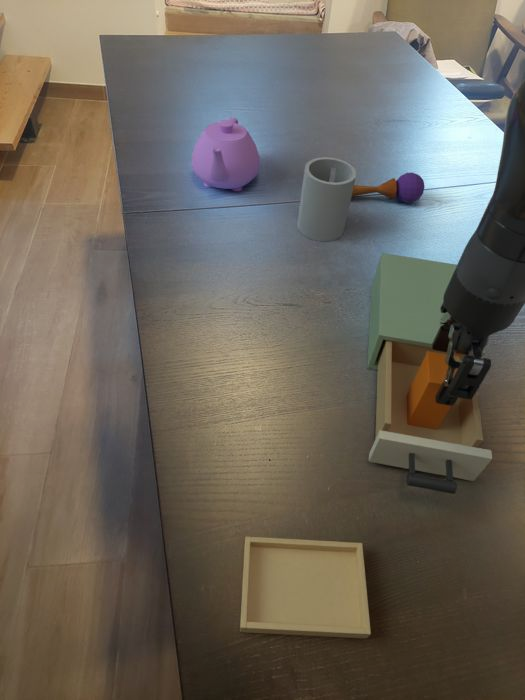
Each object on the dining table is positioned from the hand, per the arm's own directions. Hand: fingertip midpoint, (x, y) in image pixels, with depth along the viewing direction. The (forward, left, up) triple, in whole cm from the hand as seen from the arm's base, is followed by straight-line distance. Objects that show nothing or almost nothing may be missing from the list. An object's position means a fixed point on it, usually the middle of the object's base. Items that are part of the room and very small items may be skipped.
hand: (441, 374), depth 63 cm
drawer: (-1, +2, -9) cm, 10 cm away
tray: (+4, +28, -10) cm, 30 cm away
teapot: (+55, -36, -11) cm, 66 cm away
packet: (0, 0, -8) cm, 8 cm away
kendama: (+26, -48, -11) cm, 55 cm away
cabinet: (+6, -16, -10) cm, 20 cm away
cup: (+31, -33, -11) cm, 46 cm away
